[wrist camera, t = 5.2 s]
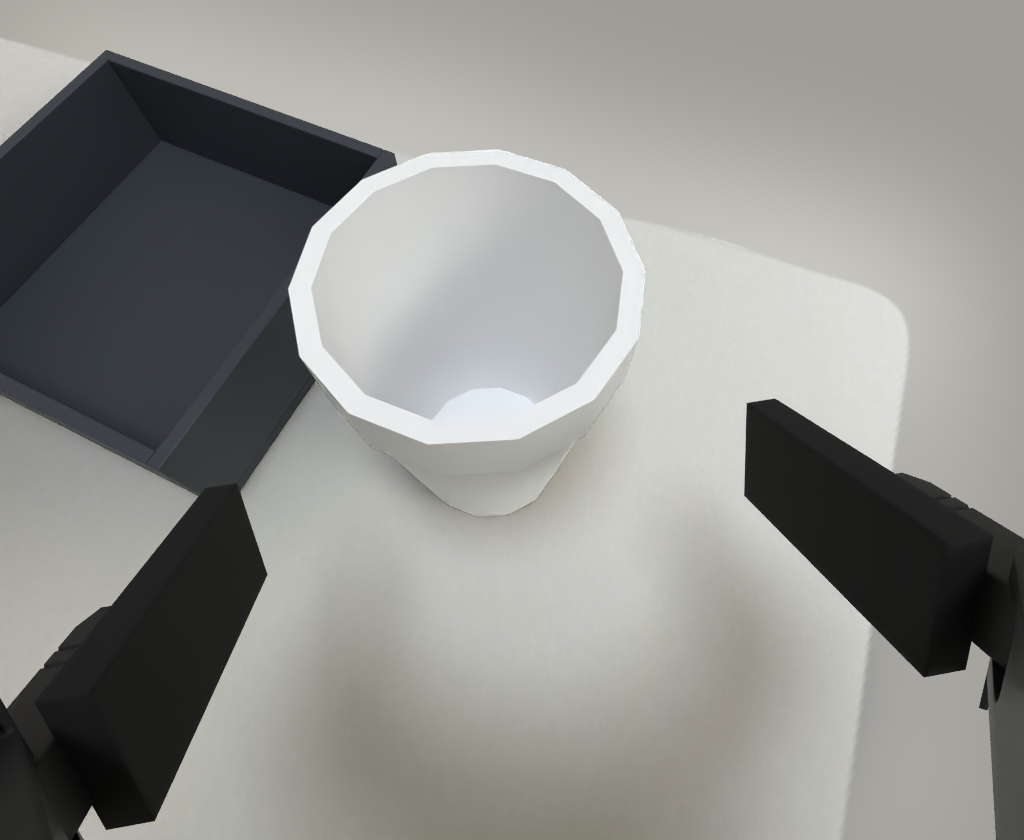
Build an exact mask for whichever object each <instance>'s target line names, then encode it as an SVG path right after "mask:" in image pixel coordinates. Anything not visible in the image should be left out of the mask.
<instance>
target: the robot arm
mask: <svg viewBox="0 0 1024 840" xmlns="http://www.w3.org/2000/svg"><path fill="white" fill-rule="evenodd" d="M744 496H745V497H746V498H747V499H748V500H749V501H750V502H751V503H752V504H753V505H754V506H755V507H756V508H757V509H758V510H759V511H760V512H761V513H762V514H763V515H764V516H765V517H766V518H767V519H768V520H769V521H770V522H771V523H772V524H773V525H774V526H775V527H776V528H777V529H778V530H779V531H780V532H781V533H782V534H783V535H784V536H785V537H786V538H787V539H788V540H789V541H790V542H791V543H792V544H793V545H794V546H795V547H796V548H797V549H798V550H799V551H800V552H801V553H802V554H803V555H804V556H805V557H806V558H807V559H808V560H809V561H810V562H811V564H812V565H813V566H814V567H815V568H816V569H817V570H818V571H819V572H820V573H821V574H822V575H823V576H824V577H825V578H826V579H827V580H828V581H829V582H830V583H831V584H832V585H833V586H834V587H835V588H836V589H837V590H838V591H839V592H840V593H841V594H842V595H843V596H844V597H845V598H846V599H847V600H848V601H849V602H850V603H851V604H852V605H853V606H854V607H855V608H856V609H857V610H858V611H859V612H860V613H861V614H862V615H863V616H864V617H865V618H866V619H867V620H868V621H869V622H870V623H871V624H872V625H873V626H874V627H875V628H876V629H877V630H878V631H879V632H880V633H881V634H882V635H883V636H884V637H885V638H886V639H887V640H888V641H889V642H890V644H892V645H893V646H894V648H896V650H897V651H898V652H899V653H900V654H901V655H902V656H903V657H904V658H905V659H906V660H907V661H908V662H909V663H910V664H912V666H913V667H914V668H915V669H916V670H917V671H918V672H919V673H920V674H921V675H922V676H923V677H928V676H934V675H939V674H945V673H950V672H955V671H960V670H965V669H966V665H967V660H968V655H969V650H970V646H971V641H972V642H973V643H974V644H976V645H977V646H978V647H979V648H980V649H981V650H983V651H984V652H985V653H986V654H987V655H988V656H990V657H991V658H990V662H989V667H988V671H987V676H986V680H985V684H984V689H983V693H982V697H981V702H980V706H979V708H981V709H984V710H987V709H988V707H989V722H990V741H991V758H992V776H993V793H994V811H995V829H996V840H1024V539H1023V538H1022V537H1020V536H1018V535H1017V534H1015V533H1013V532H1012V531H1010V530H1008V529H1007V528H1005V527H1003V526H1002V525H1000V524H998V523H997V522H995V521H993V520H992V519H990V518H988V517H987V516H985V515H983V514H982V513H980V512H978V511H977V510H975V509H973V508H969V507H968V505H967V504H965V503H963V502H962V501H960V500H958V499H957V498H955V497H954V498H951V495H950V494H948V493H947V492H945V491H943V490H942V489H940V488H938V487H937V486H935V485H933V484H932V483H930V482H927V481H925V480H922V479H919V478H916V477H913V476H910V475H907V474H904V473H898V474H894V473H893V472H891V471H890V470H888V469H886V468H885V467H883V466H882V465H880V464H879V463H877V462H875V461H874V460H872V459H871V458H869V457H867V456H866V455H864V454H863V453H861V452H859V451H858V450H856V449H855V448H853V447H851V446H850V445H848V444H847V443H845V442H843V441H842V440H840V439H839V438H837V437H835V436H834V435H832V434H831V433H829V432H827V431H826V430H824V429H823V428H821V427H820V426H818V425H816V424H815V423H813V422H812V421H810V420H808V419H807V418H805V417H804V416H802V415H800V414H799V413H797V412H796V411H794V410H792V409H791V408H789V407H788V406H786V405H784V404H783V403H781V402H780V401H778V400H776V399H770V400H763V401H757V402H751V403H747V416H746V453H745V491H744ZM266 576H267V572H266V569H265V566H264V563H263V560H262V557H261V554H260V551H259V548H258V545H257V542H256V539H255V536H254V533H253V530H252V527H251V524H250V521H249V518H248V515H247V512H246V509H245V506H244V503H243V500H242V497H241V494H240V491H239V488H238V485H237V483H234V484H228V485H221V486H215V487H209V488H205V489H204V491H203V492H202V493H201V494H200V496H199V497H198V498H197V499H196V501H195V502H194V503H193V504H192V506H191V507H190V508H189V509H188V511H187V512H186V513H185V514H184V516H183V517H182V518H181V519H180V521H179V522H178V523H177V524H176V526H175V527H174V528H173V529H172V531H171V532H170V533H169V534H168V536H167V537H166V538H165V539H164V541H163V542H162V543H161V544H160V546H159V547H158V548H157V549H156V551H155V552H154V553H153V554H152V556H151V557H150V558H149V559H148V561H147V562H146V563H145V564H144V566H143V567H142V568H141V569H140V571H139V572H138V573H137V574H136V576H135V577H134V578H133V579H132V581H131V582H130V583H129V584H128V586H127V587H126V588H125V589H124V591H123V592H122V593H121V594H120V596H119V597H118V598H117V599H116V601H115V602H114V603H113V604H112V606H108V607H102V608H100V609H99V610H97V611H96V612H95V613H93V614H92V615H91V616H90V617H88V618H87V619H86V620H84V621H83V622H82V623H80V624H79V625H78V626H76V627H75V628H74V630H73V631H72V632H71V633H70V634H69V636H68V637H67V638H66V639H65V640H64V642H63V643H62V644H61V645H60V646H59V647H58V648H59V651H56V652H54V653H53V655H52V656H51V657H50V658H49V659H48V661H47V662H46V663H45V664H44V669H40V670H39V671H38V672H37V674H36V675H35V676H34V677H33V678H32V680H31V681H30V682H29V683H28V684H27V686H26V687H25V688H24V689H23V690H22V691H21V693H20V694H19V695H18V696H17V697H16V699H15V700H14V701H13V702H12V703H11V705H10V706H9V707H8V708H7V709H6V707H5V706H4V704H3V702H2V701H1V699H0V840H84V839H83V838H82V836H81V834H80V833H79V831H78V829H79V827H80V825H81V823H82V822H83V820H84V818H85V816H86V815H87V813H88V811H89V809H90V808H91V806H93V808H94V809H95V811H96V813H97V815H98V816H99V818H100V820H101V822H102V823H103V825H104V827H105V829H106V830H108V829H114V828H119V827H125V826H130V825H135V824H141V823H146V822H151V821H155V819H156V817H157V815H158V812H159V810H160V808H161V806H162V804H163V802H164V799H165V797H166V795H167V793H168V791H169V788H170V786H171V784H172V782H173V780H174V778H175V775H176V773H177V771H178V769H179V767H180V764H181V762H182V760H183V758H184V756H185V753H186V751H187V749H188V747H189V745H190V743H191V740H192V738H193V736H194V734H195V732H196V729H197V727H198V725H199V723H200V721H201V719H202V716H203V714H204V712H205V710H206V708H207V705H208V703H209V701H210V699H211V697H212V694H213V692H214V690H215V688H216V686H217V684H218V681H219V679H220V677H221V675H222V673H223V670H224V668H225V666H226V664H227V662H228V660H229V657H230V655H231V653H232V651H233V649H234V646H235V644H236V642H237V640H238V638H239V635H240V633H241V631H242V629H243V627H244V625H245V622H246V620H247V618H248V616H249V614H250V611H251V609H252V607H253V605H254V603H255V601H256V598H257V596H258V594H259V592H260V590H261V587H262V585H263V583H264V581H265V579H266Z"/></svg>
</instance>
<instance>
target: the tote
mask: <svg viewBox="0 0 1024 840" xmlns="http://www.w3.org/2000/svg"><path fill="white" fill-rule="evenodd" d="M394 166H397V163H396V159H395V154H394V153H392V152H389V151H386V150H383V149H381V148H378V147H375V146H372V145H370V144H367V143H364V142H361V141H359V140H356V139H353V138H350V137H347V136H345V135H342V134H339V133H336V132H334V131H331V130H328V129H325V128H322V127H320V126H317V125H314V124H311V123H308V122H306V121H303V120H300V119H297V118H294V117H292V116H289V115H286V114H283V113H281V112H278V111H275V110H272V109H269V108H267V107H264V106H261V105H258V104H256V103H253V102H250V101H247V100H244V99H241V98H239V97H236V96H233V95H231V94H228V93H225V92H222V91H219V90H216V89H214V88H211V87H208V86H205V85H202V84H200V83H197V82H194V81H192V80H189V79H186V78H183V77H180V76H178V75H175V74H172V73H169V72H166V71H163V70H161V69H158V68H155V67H153V66H150V65H147V64H144V63H141V62H139V61H136V60H133V59H130V58H128V57H125V56H122V55H119V54H115V53H113V52H111V51H108V50H106V51H104V52H103V53H102V54H101V55H100V56H99V57H98V58H97V59H96V60H95V61H93V62H92V63H91V64H90V65H89V66H88V67H87V68H86V69H85V70H83V71H82V72H81V73H80V74H79V75H78V76H77V77H76V78H75V79H74V80H72V81H71V82H70V83H69V84H68V85H67V86H66V87H65V88H64V89H62V90H61V91H60V92H59V93H58V94H57V95H56V96H55V97H54V98H53V99H51V100H50V101H49V102H48V103H47V104H46V105H45V106H44V107H43V108H42V109H40V110H39V111H38V112H37V113H36V114H35V115H34V116H33V117H32V118H30V119H29V120H28V121H27V122H26V123H25V124H24V125H23V126H22V127H21V128H19V129H18V130H17V131H16V132H15V133H14V134H13V135H12V136H11V137H10V138H8V139H7V140H6V141H5V142H4V143H3V144H2V145H1V146H0V394H1V395H3V396H4V397H6V398H8V399H10V400H12V401H14V402H16V403H18V404H20V405H22V406H24V407H26V408H28V409H30V410H32V411H34V412H36V413H38V414H40V415H42V416H44V417H45V418H47V419H49V420H51V421H53V422H55V423H57V424H59V425H61V426H63V427H65V428H67V429H69V430H71V431H73V432H75V433H77V434H79V435H81V436H83V437H85V438H87V439H88V440H90V441H92V442H94V443H96V444H98V445H100V446H102V447H104V448H106V449H108V450H110V451H112V452H114V453H116V454H118V455H120V456H122V457H124V458H126V459H128V460H129V461H131V462H133V463H135V464H137V465H139V466H141V467H143V468H145V469H147V470H149V471H151V472H153V473H155V474H157V475H159V476H161V477H163V478H165V479H167V480H169V481H171V482H172V483H174V484H176V485H178V486H180V487H182V488H184V489H186V490H188V491H190V492H192V493H194V494H196V495H198V496H200V494H201V493H202V492H203V491H204V489H205V488H209V487H215V486H221V485H228V484H234V483H237V485H238V488H239V491H240V490H241V488H242V487H243V485H244V484H245V482H246V481H247V479H248V478H249V476H250V475H251V473H252V472H253V470H254V469H255V467H256V466H257V465H258V463H259V462H260V460H261V459H262V457H263V456H264V454H265V453H266V451H267V450H268V448H269V447H270V445H271V444H272V442H273V441H274V440H275V438H276V437H277V435H278V434H279V432H280V431H281V429H282V428H283V426H284V425H285V423H286V422H287V420H288V419H289V417H290V416H291V414H292V413H293V412H294V410H295V409H296V407H297V406H298V404H299V403H300V401H301V400H302V398H303V397H304V395H305V394H306V392H307V391H308V389H309V388H310V387H311V385H312V384H313V382H314V381H315V378H314V377H313V375H312V374H311V372H310V371H309V370H308V368H307V367H306V365H305V364H304V362H303V361H302V359H301V358H300V356H299V351H298V345H297V339H296V333H295V327H294V321H293V315H292V309H291V303H290V297H289V291H288V288H289V286H290V283H291V280H292V278H293V275H294V273H295V270H296V267H297V265H298V262H299V260H300V257H301V254H302V252H303V249H304V247H305V244H306V241H307V239H308V236H309V233H310V231H311V228H312V226H313V225H315V224H316V223H317V222H318V221H319V220H320V219H321V218H322V217H323V216H324V215H325V214H326V213H327V212H328V211H329V210H330V209H331V208H333V207H334V206H335V205H336V204H337V203H338V202H339V201H340V200H341V199H342V198H343V197H344V196H345V195H346V194H347V193H348V192H349V191H351V190H352V189H353V188H354V187H355V186H356V185H357V184H358V183H359V182H360V181H361V180H362V179H365V178H367V177H370V176H372V175H375V174H377V173H380V172H382V171H384V170H387V169H389V168H392V167H394Z"/></svg>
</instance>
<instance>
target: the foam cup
mask: <svg viewBox="0 0 1024 840" xmlns="http://www.w3.org/2000/svg"><path fill="white" fill-rule="evenodd" d="M645 273H646V270H645V267H644V265H643V263H642V261H641V259H640V257H639V255H638V252H637V250H636V248H635V246H634V244H633V242H632V239H631V237H630V235H629V233H628V231H627V229H626V227H625V224H624V222H623V220H622V218H621V216H620V214H619V211H618V210H616V209H615V208H614V207H613V206H611V205H610V204H609V203H608V202H606V201H605V200H604V199H603V198H601V197H600V196H599V195H597V194H596V193H595V192H594V191H593V190H591V189H590V188H589V187H587V186H586V185H585V184H584V183H583V182H581V181H580V180H579V179H577V178H576V177H575V176H574V175H572V174H571V173H570V172H569V171H567V170H566V169H563V168H560V167H556V166H553V165H550V164H546V163H543V162H540V161H536V160H533V159H530V158H526V157H523V156H519V155H516V154H513V153H510V152H506V151H503V150H499V149H498V150H477V151H458V152H438V153H426V154H424V155H422V156H419V157H417V158H414V159H412V160H409V161H407V162H404V163H402V164H399V165H397V166H394V167H392V168H389V169H387V170H384V171H382V172H380V173H377V174H375V175H372V176H370V177H367V178H365V179H362V180H361V181H360V182H359V183H358V184H357V185H356V186H355V187H354V188H353V189H352V190H351V191H349V192H348V193H347V194H346V195H345V196H344V197H343V198H342V199H341V200H340V201H339V202H338V203H337V204H336V205H335V206H334V207H333V208H331V209H330V210H329V211H328V212H327V213H326V214H325V215H324V216H323V217H322V218H321V219H320V220H319V221H318V222H317V223H316V224H315V225H313V226H312V228H311V231H310V233H309V236H308V239H307V241H306V244H305V247H304V249H303V252H302V254H301V257H300V260H299V262H298V265H297V267H296V270H295V273H294V275H293V278H292V280H291V283H290V286H289V288H288V291H289V297H290V303H291V309H292V315H293V321H294V327H295V333H296V339H297V345H298V351H299V356H300V358H301V359H302V361H303V362H304V364H305V365H306V367H307V368H308V370H309V371H310V372H311V374H312V375H313V377H314V378H315V380H316V381H317V383H318V384H319V386H320V387H321V389H322V390H323V391H324V393H325V394H326V396H327V397H328V398H329V400H330V401H331V402H332V403H333V404H334V405H335V407H336V408H337V409H338V410H339V411H340V412H341V414H342V415H343V416H344V417H345V418H346V419H347V421H348V422H349V423H350V424H351V425H352V426H353V428H354V429H355V430H356V431H357V432H358V433H359V435H360V436H361V437H362V438H363V439H364V440H365V442H366V443H367V444H368V445H369V446H370V447H371V448H372V449H375V450H377V451H380V452H382V453H385V454H387V455H390V456H392V457H393V458H394V459H395V460H396V461H397V462H399V463H400V464H401V465H402V466H403V467H404V468H405V469H407V470H408V471H409V472H410V473H411V474H412V475H414V476H415V477H416V478H417V479H418V480H419V481H420V482H422V483H423V484H424V485H425V486H426V487H427V488H428V489H430V490H431V491H432V492H433V493H434V494H435V495H437V496H438V497H439V498H440V499H441V500H442V501H443V502H445V503H447V504H448V505H449V506H452V507H454V508H457V509H459V510H462V511H464V512H466V513H469V514H471V515H474V516H476V517H479V516H497V515H509V514H511V513H513V512H514V511H516V510H518V509H520V508H522V507H524V506H525V505H527V504H529V503H531V502H533V501H535V500H536V499H537V498H538V496H539V495H540V493H541V492H542V491H543V489H544V488H545V486H546V485H547V484H548V482H549V481H550V479H551V478H552V477H553V475H554V474H555V472H556V471H557V469H558V468H559V466H560V465H561V463H562V462H563V460H564V459H565V457H566V456H567V454H568V453H569V451H570V450H571V448H572V447H573V445H574V444H575V442H576V440H578V439H579V438H581V437H583V436H585V434H586V433H587V432H588V430H589V429H590V427H591V426H592V425H593V423H594V422H595V420H596V419H597V418H598V416H599V415H600V413H601V412H602V411H603V409H604V408H605V406H606V405H607V403H608V402H609V401H610V399H611V398H612V396H613V395H614V394H615V392H616V391H617V389H618V388H619V387H620V385H621V384H622V382H623V381H624V379H625V376H626V373H627V370H628V368H629V365H630V362H631V359H632V356H633V354H634V351H635V348H636V345H637V342H638V340H639V334H640V324H641V314H642V304H643V293H644V283H645Z"/></svg>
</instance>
